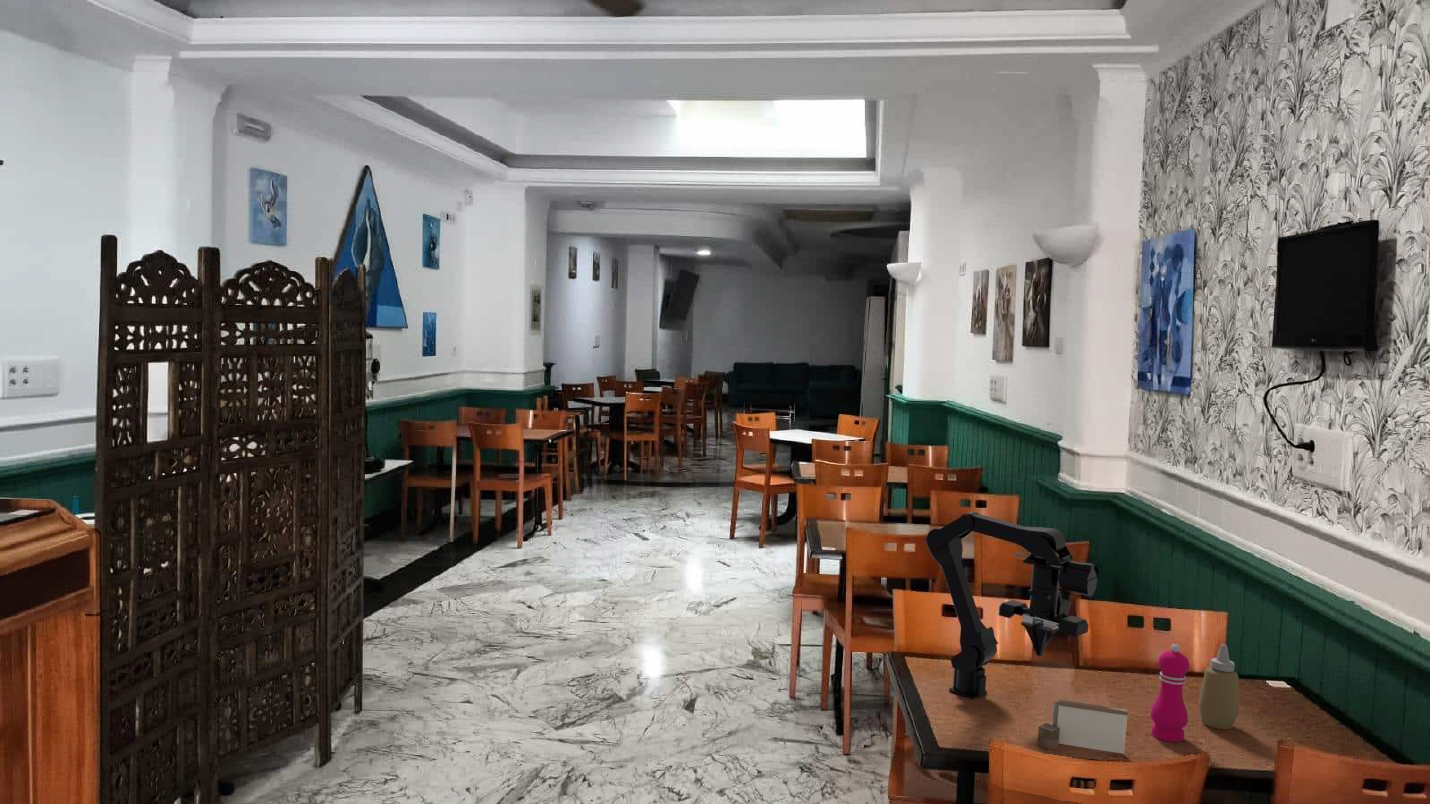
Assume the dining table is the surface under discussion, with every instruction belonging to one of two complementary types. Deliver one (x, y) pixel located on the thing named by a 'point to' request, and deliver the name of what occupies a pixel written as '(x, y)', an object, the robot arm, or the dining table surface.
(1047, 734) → the gate frame
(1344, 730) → the dining table surface
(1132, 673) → the dining table surface
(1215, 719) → the squeeze bottle
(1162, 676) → the pepper mill
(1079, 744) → the gate
